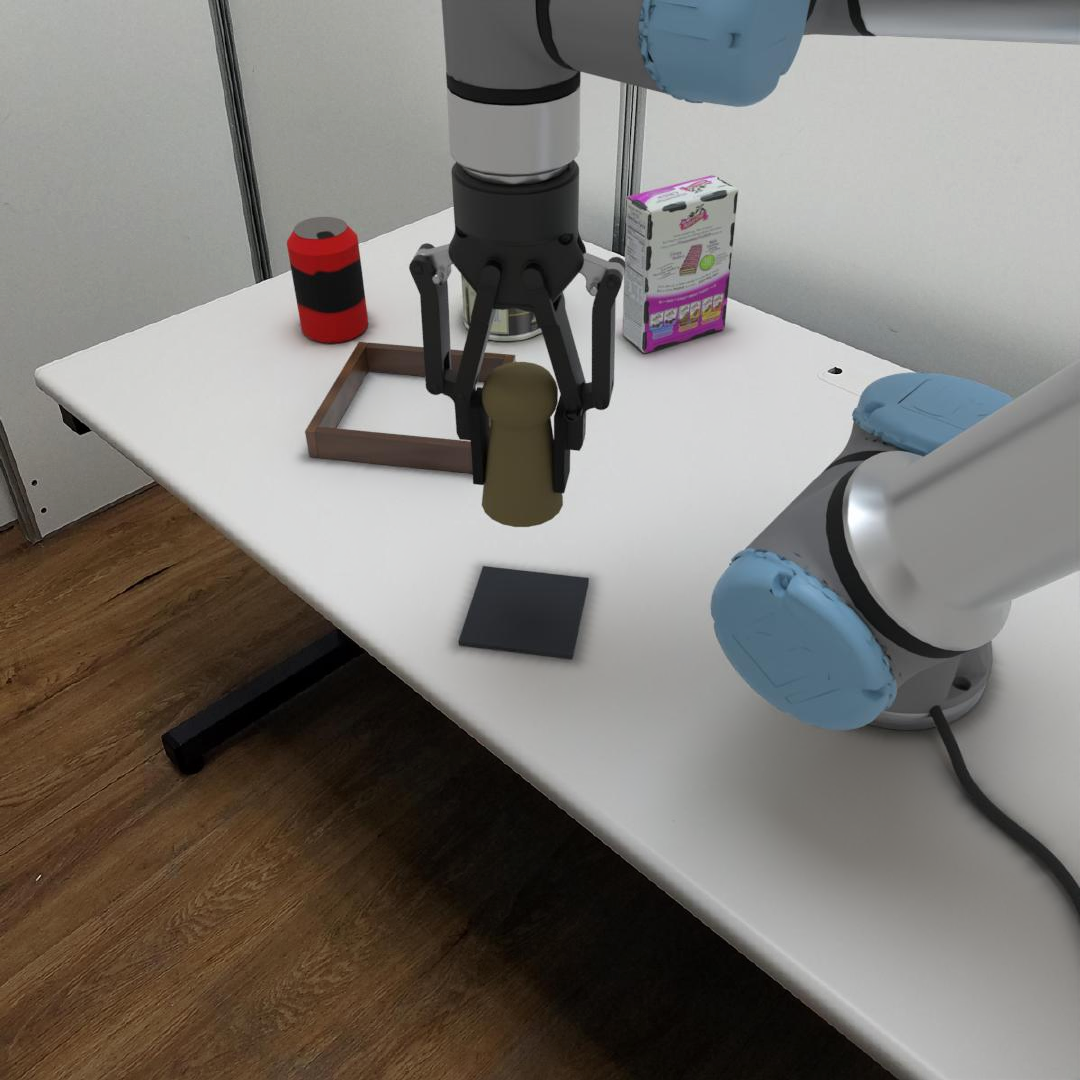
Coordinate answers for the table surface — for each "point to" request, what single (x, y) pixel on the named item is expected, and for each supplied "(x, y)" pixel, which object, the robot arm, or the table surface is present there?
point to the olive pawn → (520, 445)
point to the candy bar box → (677, 262)
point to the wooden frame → (387, 446)
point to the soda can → (328, 279)
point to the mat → (525, 612)
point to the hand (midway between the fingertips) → (521, 477)
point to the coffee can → (502, 319)
